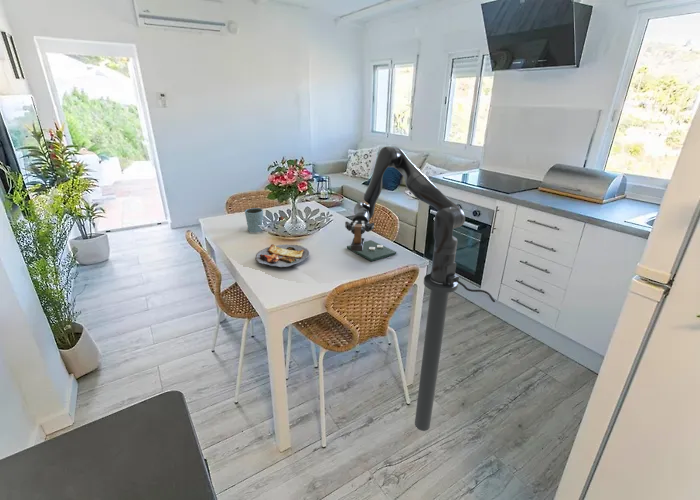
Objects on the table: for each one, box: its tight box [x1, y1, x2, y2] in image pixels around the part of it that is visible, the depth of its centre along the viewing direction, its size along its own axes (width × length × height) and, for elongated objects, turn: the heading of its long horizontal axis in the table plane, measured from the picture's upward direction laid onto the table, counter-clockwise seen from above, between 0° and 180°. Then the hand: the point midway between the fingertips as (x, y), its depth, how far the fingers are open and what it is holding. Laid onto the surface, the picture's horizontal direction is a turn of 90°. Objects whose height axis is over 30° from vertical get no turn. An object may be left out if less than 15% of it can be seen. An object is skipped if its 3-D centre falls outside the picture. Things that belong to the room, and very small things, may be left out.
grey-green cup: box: [244, 207, 264, 233], centre depth 200 cm, size 10×10×12 cm
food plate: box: [254, 243, 311, 268], centre depth 165 cm, size 25×23×4 cm
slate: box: [346, 239, 397, 262], centre depth 176 cm, size 20×16×1 cm
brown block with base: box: [350, 224, 365, 252], centre depth 153 cm, size 5×10×10 cm, turn 173°
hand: (357, 231), depth 149 cm, fingers closed on brown block with base, 3 cm apart
